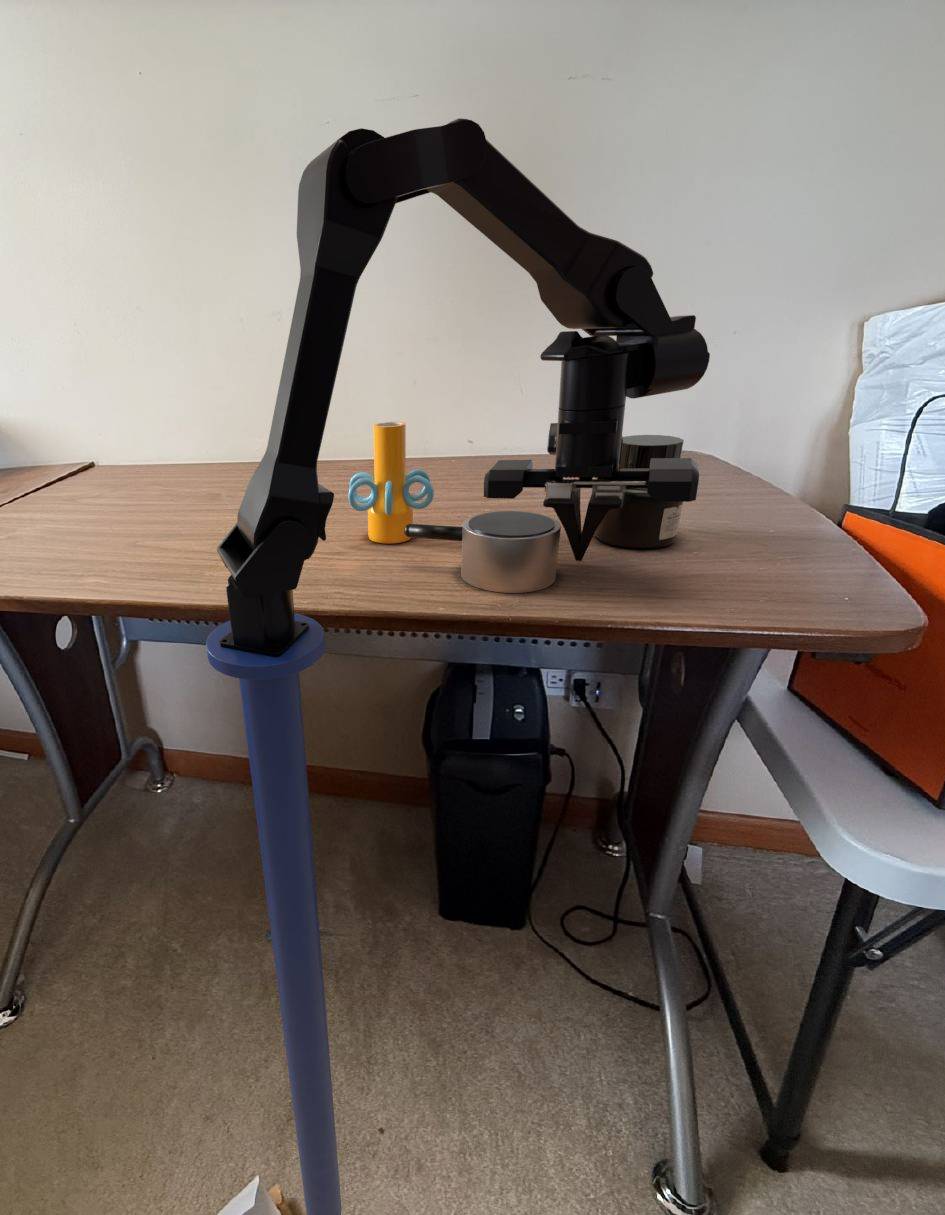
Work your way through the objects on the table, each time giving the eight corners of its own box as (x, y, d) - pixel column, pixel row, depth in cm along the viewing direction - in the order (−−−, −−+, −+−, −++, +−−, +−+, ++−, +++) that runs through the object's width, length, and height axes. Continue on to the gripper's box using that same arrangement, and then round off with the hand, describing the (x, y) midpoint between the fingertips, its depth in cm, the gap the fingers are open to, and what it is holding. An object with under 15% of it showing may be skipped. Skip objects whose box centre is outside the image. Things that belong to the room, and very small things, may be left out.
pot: (559, 563, 72) (564, 511, 69) (550, 597, 64) (556, 540, 61) (415, 552, 79) (415, 505, 76) (391, 581, 71) (391, 529, 68)
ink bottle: (685, 552, 72) (706, 447, 67) (600, 551, 74) (615, 449, 69) (664, 526, 80) (681, 431, 75) (588, 526, 83) (600, 433, 78)
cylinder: (369, 557, 79) (366, 435, 72) (333, 535, 88) (328, 426, 81) (451, 539, 82) (455, 422, 76) (408, 520, 91) (409, 414, 85)
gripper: (704, 387, 61) (681, 538, 67) (505, 398, 70) (502, 531, 76) (710, 406, 52) (684, 577, 59) (483, 416, 61) (481, 564, 68)
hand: (578, 559), depth 66 cm, fingers closed
